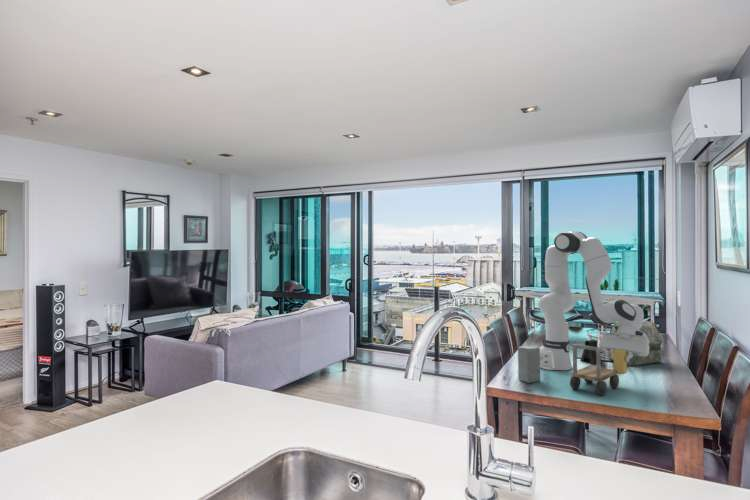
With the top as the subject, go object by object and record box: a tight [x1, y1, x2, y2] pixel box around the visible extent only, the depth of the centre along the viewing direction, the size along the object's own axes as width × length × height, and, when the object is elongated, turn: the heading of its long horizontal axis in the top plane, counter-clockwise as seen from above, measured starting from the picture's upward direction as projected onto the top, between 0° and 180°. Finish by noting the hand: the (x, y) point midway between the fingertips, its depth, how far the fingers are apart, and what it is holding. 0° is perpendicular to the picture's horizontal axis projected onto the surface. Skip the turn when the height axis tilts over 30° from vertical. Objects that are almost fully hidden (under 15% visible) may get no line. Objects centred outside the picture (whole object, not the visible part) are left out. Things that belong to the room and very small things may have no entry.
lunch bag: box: [607, 320, 663, 367], centre depth 243 cm, size 26×18×22 cm
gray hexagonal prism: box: [517, 345, 541, 384], centre depth 211 cm, size 8×7×16 cm
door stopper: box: [580, 339, 603, 366], centre depth 242 cm, size 9×6×12 cm, turn 25°
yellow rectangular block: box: [613, 349, 628, 375], centre depth 202 cm, size 4×4×10 cm
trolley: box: [569, 343, 620, 397], centre depth 198 cm, size 13×20×20 cm, turn 131°
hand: (619, 360), depth 201 cm, fingers closed on yellow rectangular block, 4 cm apart
